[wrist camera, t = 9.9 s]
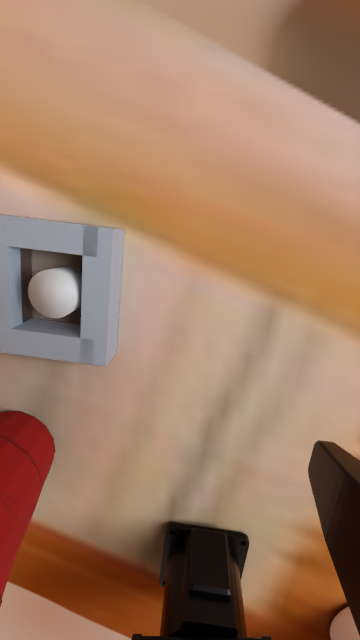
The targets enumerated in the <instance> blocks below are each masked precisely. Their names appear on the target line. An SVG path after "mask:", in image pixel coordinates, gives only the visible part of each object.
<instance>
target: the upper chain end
mask: <svg viewBox="0 0 360 640" xmlns="http://www.w3.org/2000/svg"><path fill="white" fill-rule="evenodd" d="M123 240H124V229H117V228H108V227H100V226H92V225H83V224H75V223H67V222H59V221H50V220H42V219H34V218H25V217H16V216H8V215H0V352H2V353H9V354H16V355H24V356H31V357H39V358H46V359H53V360H61V361H68V362H75V363H83V364H90V365H98V366H105V367H106V366H107V364H108V363H109V362H110V360H111V359H112V357H113V356H114V355H115V353H116V352H117V336H118V320H119V304H120V288H121V272H122V256H123ZM20 248H27V249H35V250H43V251H51V252H59V253H67V254H76V255H83V259H82V271H81V270H80V269H78V268H76V267H73V266H62V267H57V268H52V269H48V270H43V271H40V272H38V273H37V274H35V275H34V276H33V278H32V279H31V281H30V283H29V286H28V296H29V299H30V302H31V304H32V305H33V307H34V308H35V309H36V310H37V311H38V312H39V313H40V314H42V315H44V316H46V317H49V318H61V317H64V316H66V315H68V314H70V313H71V312H73V311H75V310H76V309H78V308H80V307H81V325H80V324H72V323H64V322H57V321H49V320H42V319H34V318H32V319H30V320H28V321H26V322H24V323H22V294H21V259H20Z"/></svg>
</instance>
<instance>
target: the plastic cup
mask: <svg viewBox="0 0 360 640" xmlns="http://www.w3.org/2000/svg"><path fill="white" fill-rule="evenodd" d="M54 453H55V446H54V439H53V437H52V435H51V434H50V432H49V430H48V429H47V427H46V426H45V425H44V424H42V423H41V422H40V421H39V420H38V419H36V418H35V417H33V416H30V415H28V414H25V413H23V412H16V411H5V412H3V413H0V606H1V603H2V596H3V593H4V589H5V587H6V583H7V581H8V578H9V574H10V571H11V569H12V566H13V563H14V561H15V558H16V556H17V553H18V551H19V548H20V546H21V543H22V540H23V538H24V535H25V533H26V530H27V528H28V525H29V523H30V520H31V517H32V515H33V512H34V510H35V507H36V505H37V502H38V499H39V496H40V493H41V490H42V487H43V484H44V482H45V480H46V477H47V475H48V473H49V470H50V467H51V464H52V462H53V459H54Z"/></svg>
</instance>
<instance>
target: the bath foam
mask: <svg viewBox="0 0 360 640" xmlns="http://www.w3.org/2000/svg"><path fill="white" fill-rule="evenodd" d="M330 638H331V640H360V636H359V633H358V631H357V628H356V625H355V622H354V619H353V617H352V614H351V611H350V608H349V606H348V607H346V608H345V609H343V610H342V611H340V612H339V613H338V614H337V615H336V616H335V618H334V619H333V621H332V623H331V627H330Z"/></svg>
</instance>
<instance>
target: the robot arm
mask: <svg viewBox="0 0 360 640" xmlns="http://www.w3.org/2000/svg"><path fill="white" fill-rule="evenodd" d="M308 474H309V479H310V483H311V487H312V491H313V495H314V499H315V503H316V507H317V511H318V515H319V519H320V523H321V527H322V530H323V534H324V537H325V541H326V544H327V547H328V550H329V553H330V555H331V558H332V561H333V564H334V566H335V569H336V572H337V575H338V578H339V580H340V583H341V586H342V589H343V592H344V594H345V597H346V600H347V603H348V605H349V608H350V611H351V614H352V617H353V619H354V622H355V625H356V628H357V631H358V633H359V636H360V460H358V459H357V458H355V457H354V456H352V455H351V454H350V453H348V452H347V451H345V450H344V449H342V448H341V447H340V446H338V445H337V444H335V443H333V442H328V441H320V440H319V441H317V442H316V443H315V444H314V447H313V451H312V455H311V459H310V463H309V467H308ZM248 547H249V539H248V536H247V535H246V534H242V533H236V532H229V531H223V530H216V529H209V528H203V527H196V526H189V525H183V524H176V523H170V524H168V525H167V529H166V537H165V544H164V551H163V559H162V566H161V574H160V582H159V583H160V585H161V586H162V587H165V589H164V599H163V609H162V619H161V629H160V636H142V634H133V636H132V640H271V636H263V635H262V638H258V637H247V633H246V624H245V615H244V607H243V598H242V590H241V577H242V573H243V568H244V564H245V560H246V556H247V551H248Z"/></svg>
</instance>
